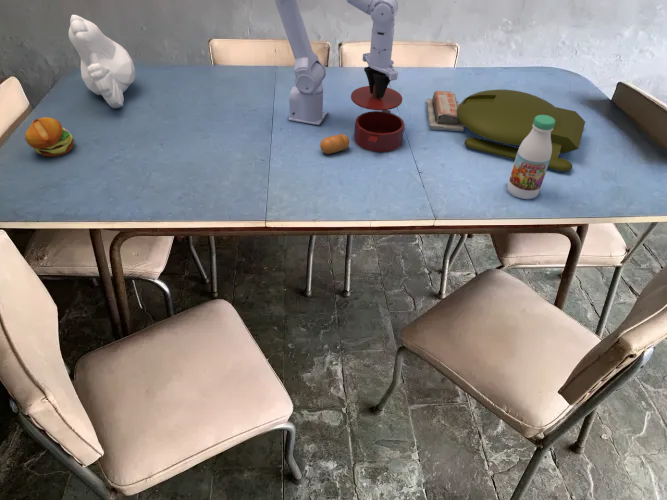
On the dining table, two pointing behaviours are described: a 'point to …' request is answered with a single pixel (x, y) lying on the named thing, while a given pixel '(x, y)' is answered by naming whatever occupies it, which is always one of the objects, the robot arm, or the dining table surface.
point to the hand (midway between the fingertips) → (376, 95)
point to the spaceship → (517, 124)
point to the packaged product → (443, 112)
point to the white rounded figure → (101, 61)
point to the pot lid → (376, 99)
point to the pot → (379, 131)
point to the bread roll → (334, 143)
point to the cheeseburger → (49, 137)
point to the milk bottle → (532, 159)
